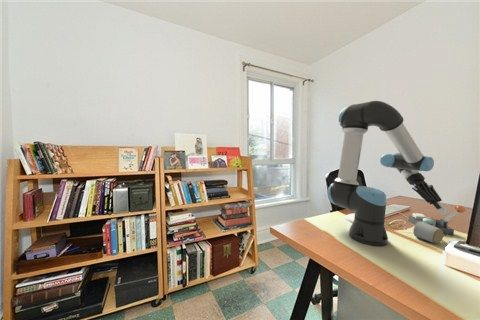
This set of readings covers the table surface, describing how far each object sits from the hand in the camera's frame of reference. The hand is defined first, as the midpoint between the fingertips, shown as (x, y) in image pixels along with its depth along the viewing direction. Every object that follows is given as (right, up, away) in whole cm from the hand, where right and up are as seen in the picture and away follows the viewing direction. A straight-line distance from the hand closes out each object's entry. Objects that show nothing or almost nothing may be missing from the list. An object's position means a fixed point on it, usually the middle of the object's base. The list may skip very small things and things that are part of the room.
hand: (446, 214), depth 98 cm
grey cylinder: (-15, -10, -7) cm, 20 cm away
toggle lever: (0, -5, +2) cm, 5 cm away
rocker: (-3, -4, +12) cm, 13 cm away
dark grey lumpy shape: (-2, -9, +7) cm, 12 cm away
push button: (-6, -6, +4) cm, 9 cm away
